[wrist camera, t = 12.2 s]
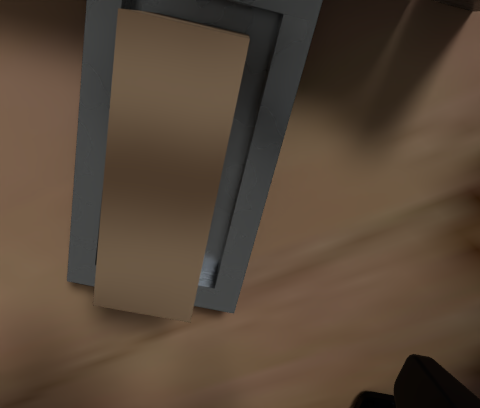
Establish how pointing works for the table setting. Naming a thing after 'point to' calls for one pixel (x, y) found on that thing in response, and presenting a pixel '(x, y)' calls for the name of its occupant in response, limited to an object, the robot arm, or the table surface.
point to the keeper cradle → (240, 140)
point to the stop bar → (164, 159)
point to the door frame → (463, 4)
